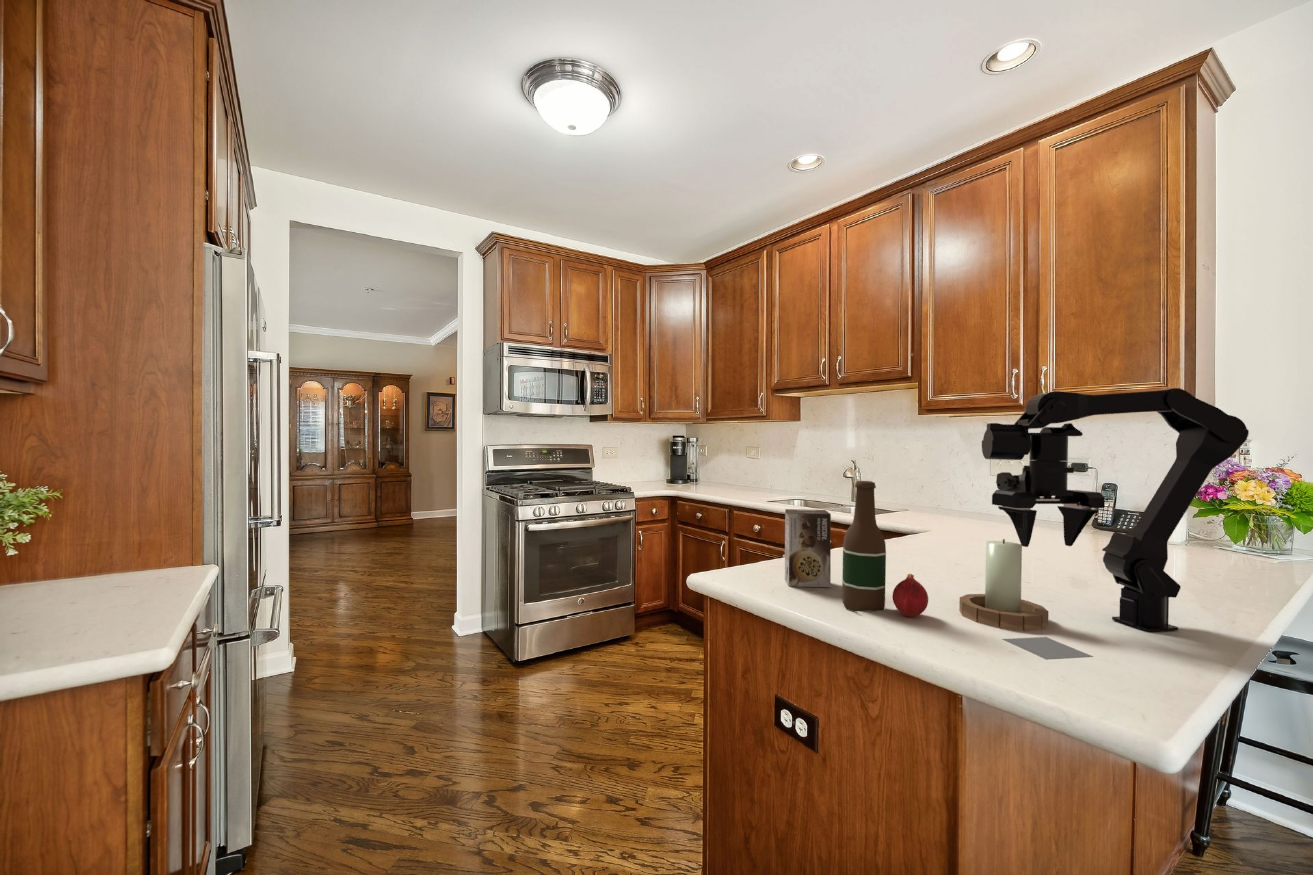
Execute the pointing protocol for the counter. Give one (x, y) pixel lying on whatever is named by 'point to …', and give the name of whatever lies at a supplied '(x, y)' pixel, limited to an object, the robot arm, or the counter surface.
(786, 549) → the coffee box
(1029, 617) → the bowl
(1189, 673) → the counter surface
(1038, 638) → the mat
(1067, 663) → the counter surface
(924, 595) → the onion
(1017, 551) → the candle
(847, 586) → the beer bottle
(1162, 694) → the counter surface
